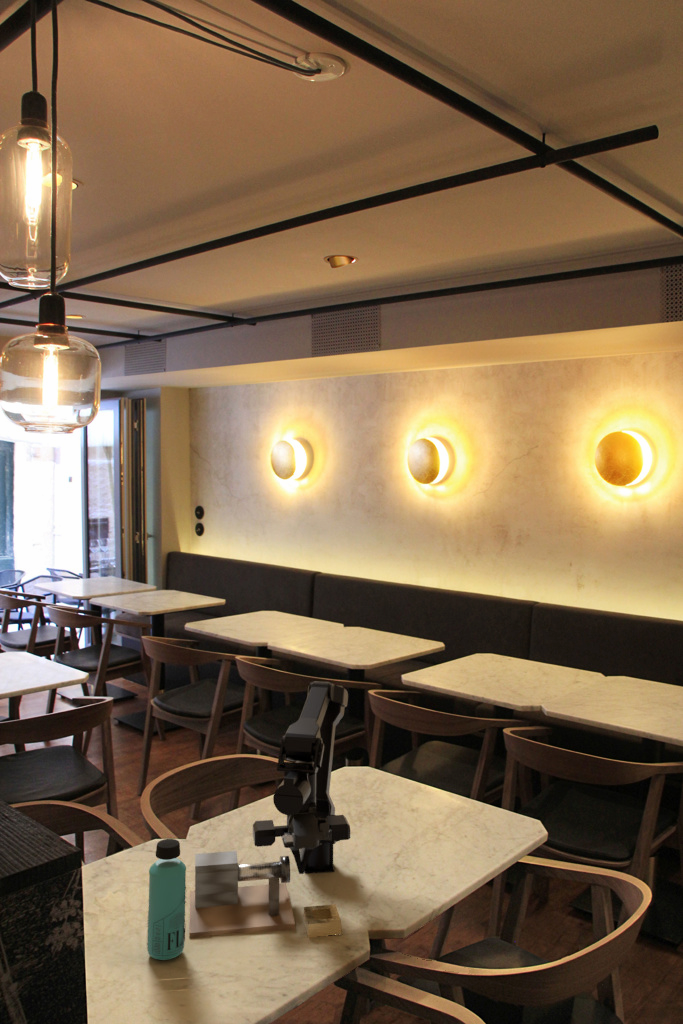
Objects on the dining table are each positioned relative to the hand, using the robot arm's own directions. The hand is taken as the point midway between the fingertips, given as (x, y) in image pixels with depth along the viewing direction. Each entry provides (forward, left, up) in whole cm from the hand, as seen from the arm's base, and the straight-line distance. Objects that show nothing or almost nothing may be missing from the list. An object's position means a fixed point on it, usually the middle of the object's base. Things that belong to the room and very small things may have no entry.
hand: (301, 873), depth 156 cm
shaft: (+10, 0, -1) cm, 10 cm away
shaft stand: (+12, +3, -5) cm, 13 cm away
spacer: (-3, +11, -5) cm, 12 cm away
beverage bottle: (+25, +16, -5) cm, 31 cm away
